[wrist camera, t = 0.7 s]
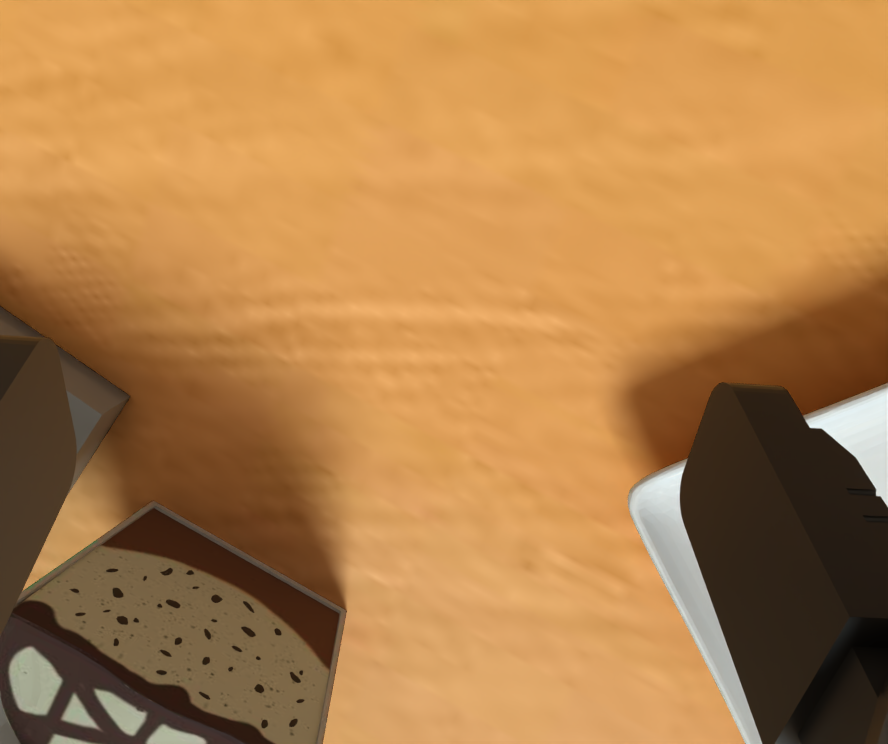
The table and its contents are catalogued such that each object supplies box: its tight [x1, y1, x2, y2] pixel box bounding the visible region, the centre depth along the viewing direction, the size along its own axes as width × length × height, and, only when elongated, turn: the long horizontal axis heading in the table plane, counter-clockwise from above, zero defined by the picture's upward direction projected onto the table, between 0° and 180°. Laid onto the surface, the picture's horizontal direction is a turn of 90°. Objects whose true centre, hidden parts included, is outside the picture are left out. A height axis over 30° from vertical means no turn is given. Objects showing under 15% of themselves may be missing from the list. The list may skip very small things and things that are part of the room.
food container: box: [0, 501, 347, 744], centre depth 31 cm, size 12×6×10 cm, turn 60°
